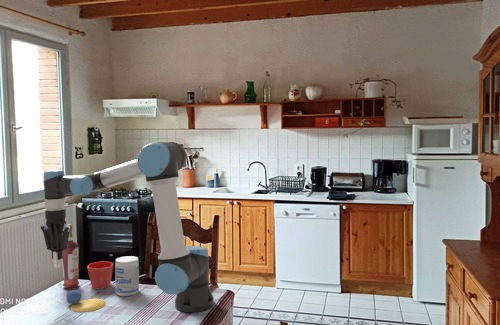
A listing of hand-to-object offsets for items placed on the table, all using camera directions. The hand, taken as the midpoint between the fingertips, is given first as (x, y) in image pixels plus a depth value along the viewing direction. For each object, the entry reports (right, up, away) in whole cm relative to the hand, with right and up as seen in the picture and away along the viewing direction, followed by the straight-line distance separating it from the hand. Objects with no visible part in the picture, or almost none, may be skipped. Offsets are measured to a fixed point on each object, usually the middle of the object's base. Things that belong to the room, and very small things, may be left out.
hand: (57, 267), depth 176 cm
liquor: (-2, -13, +19) cm, 23 cm away
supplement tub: (+25, -14, +11) cm, 31 cm away
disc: (+13, -15, -3) cm, 20 cm away
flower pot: (+11, -13, +19) cm, 26 cm away
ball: (+7, -12, -1) cm, 14 cm away
